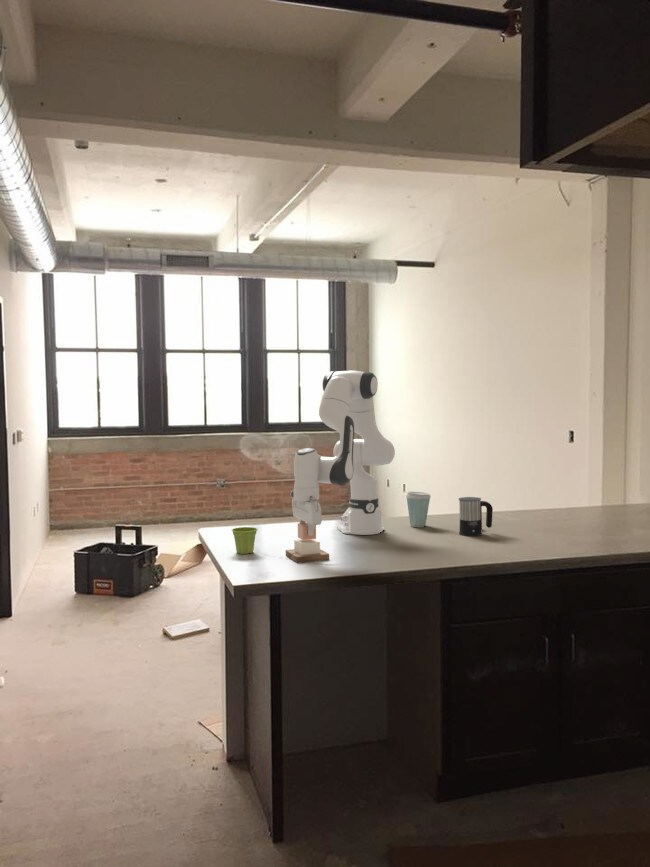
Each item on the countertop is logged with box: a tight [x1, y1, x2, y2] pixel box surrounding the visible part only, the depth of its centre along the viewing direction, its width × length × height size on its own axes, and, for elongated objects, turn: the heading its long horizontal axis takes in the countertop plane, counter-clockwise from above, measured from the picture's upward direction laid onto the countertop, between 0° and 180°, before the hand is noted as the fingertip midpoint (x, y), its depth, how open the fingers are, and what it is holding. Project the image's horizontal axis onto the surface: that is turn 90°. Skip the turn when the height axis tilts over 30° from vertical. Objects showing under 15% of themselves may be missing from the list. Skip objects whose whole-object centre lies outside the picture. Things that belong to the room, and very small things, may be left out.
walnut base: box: [285, 548, 330, 564], centre depth 248 cm, size 12×12×2 cm
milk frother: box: [458, 496, 493, 537], centre depth 291 cm, size 14×16×15 cm
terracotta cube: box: [297, 522, 317, 540], centre depth 248 cm, size 5×5×5 cm
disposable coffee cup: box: [405, 491, 431, 528], centre depth 305 cm, size 11×11×15 cm
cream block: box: [293, 538, 321, 555], centre depth 248 cm, size 7×7×4 cm
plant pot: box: [231, 526, 259, 555], centre depth 257 cm, size 9×9×9 cm
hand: (307, 533), depth 248 cm, fingers closed on terracotta cube, 5 cm apart
